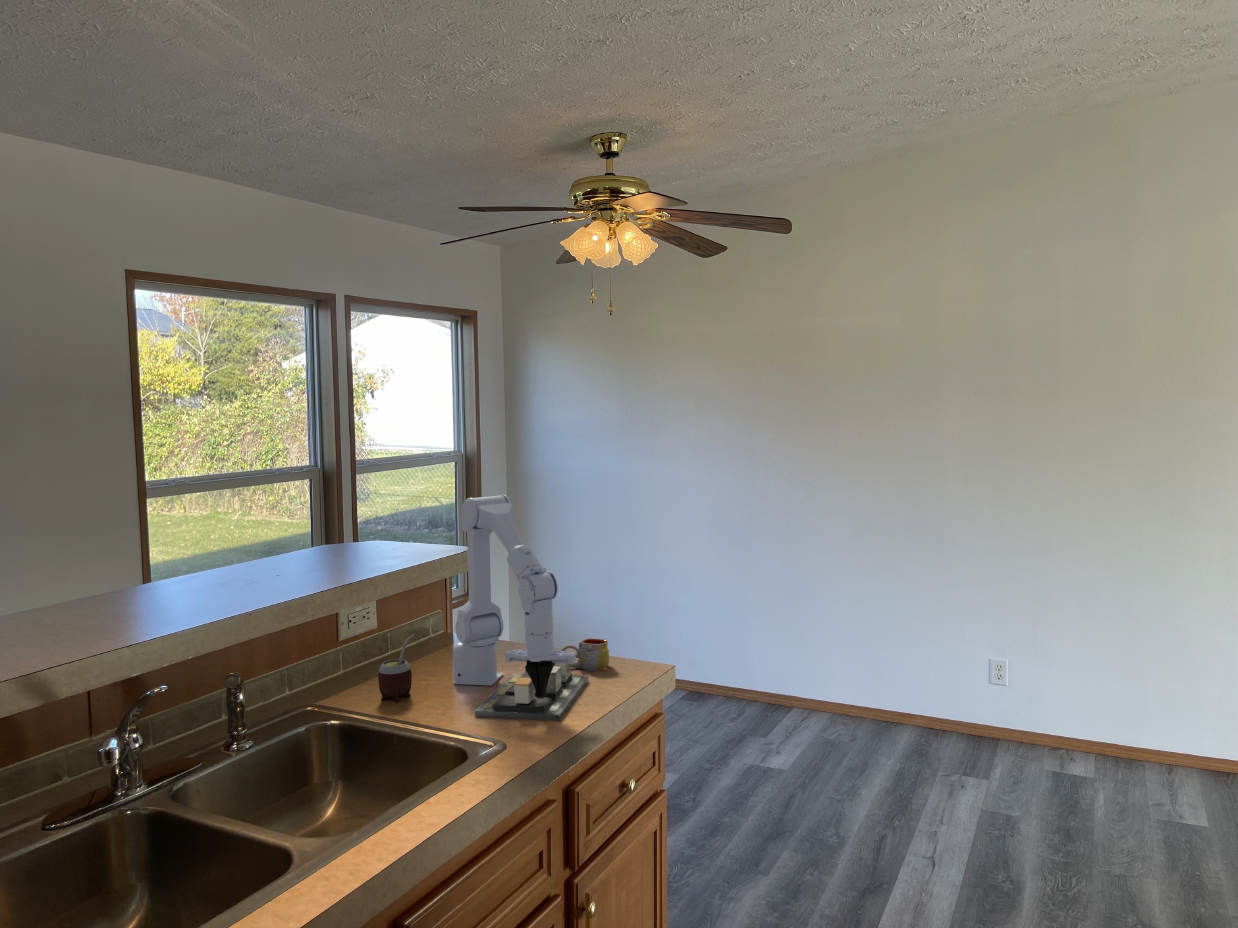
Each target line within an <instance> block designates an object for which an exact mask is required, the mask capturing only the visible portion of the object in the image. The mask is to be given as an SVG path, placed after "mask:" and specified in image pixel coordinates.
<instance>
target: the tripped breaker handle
mask: <svg viewBox="0 0 1238 928" xmlns="http://www.w3.org/2000/svg"><path fill="white" fill-rule="evenodd" d="M514 693H515V703H526V704H529V703H530V702H531V701H532V699H533V698H534V697H535V690H534V685H533V683H532V680H531V678H519V679H518V680H517V681H516V683H515V684H514Z"/></svg>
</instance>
